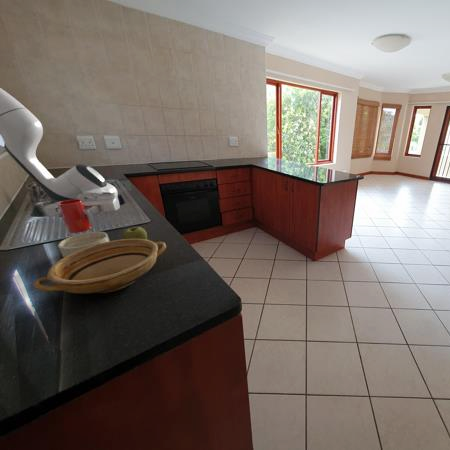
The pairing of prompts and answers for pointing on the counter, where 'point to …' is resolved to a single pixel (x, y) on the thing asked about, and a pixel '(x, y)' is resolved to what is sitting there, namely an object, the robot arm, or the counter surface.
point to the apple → (134, 233)
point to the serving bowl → (81, 242)
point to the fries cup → (74, 215)
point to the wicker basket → (102, 267)
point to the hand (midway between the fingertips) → (72, 214)
